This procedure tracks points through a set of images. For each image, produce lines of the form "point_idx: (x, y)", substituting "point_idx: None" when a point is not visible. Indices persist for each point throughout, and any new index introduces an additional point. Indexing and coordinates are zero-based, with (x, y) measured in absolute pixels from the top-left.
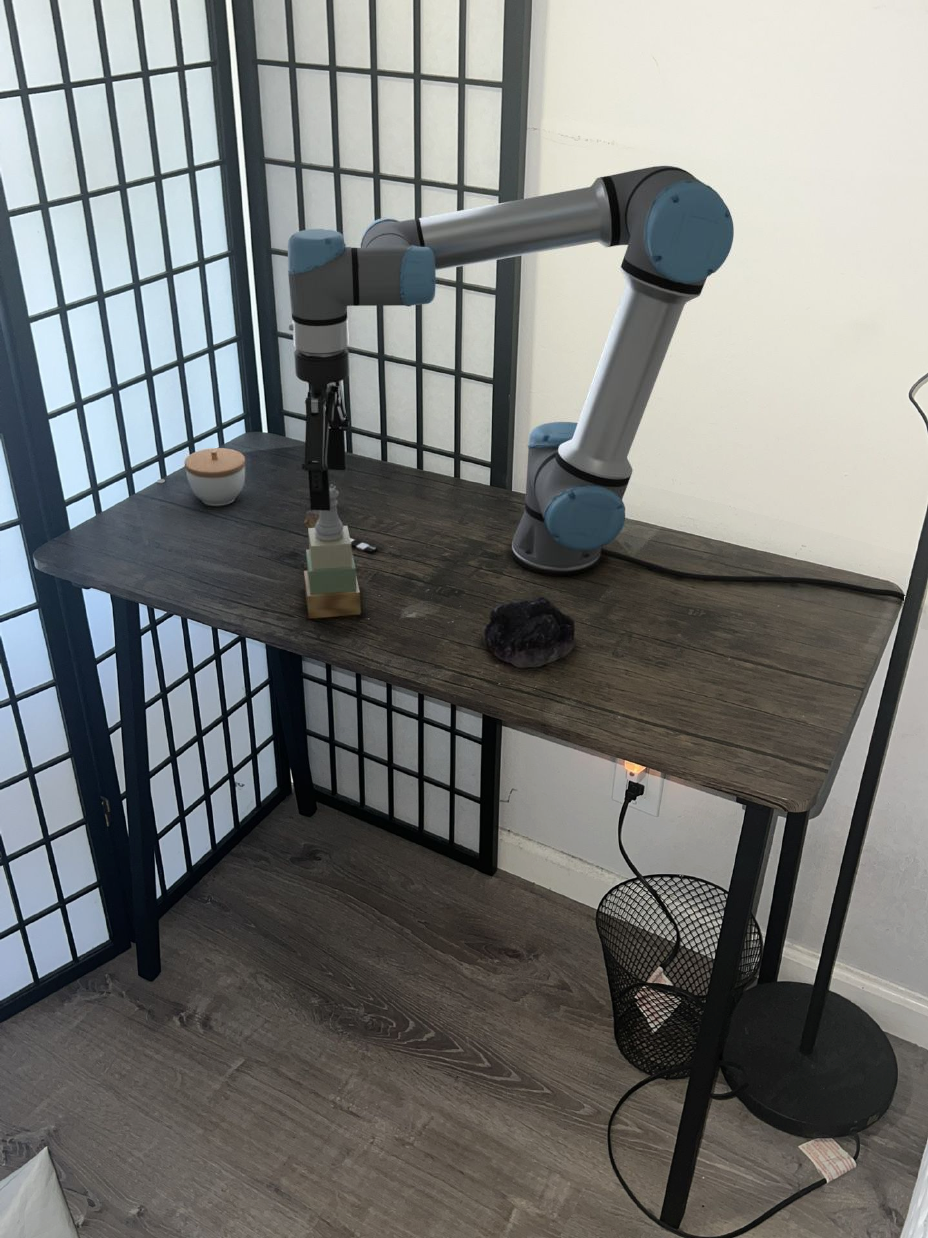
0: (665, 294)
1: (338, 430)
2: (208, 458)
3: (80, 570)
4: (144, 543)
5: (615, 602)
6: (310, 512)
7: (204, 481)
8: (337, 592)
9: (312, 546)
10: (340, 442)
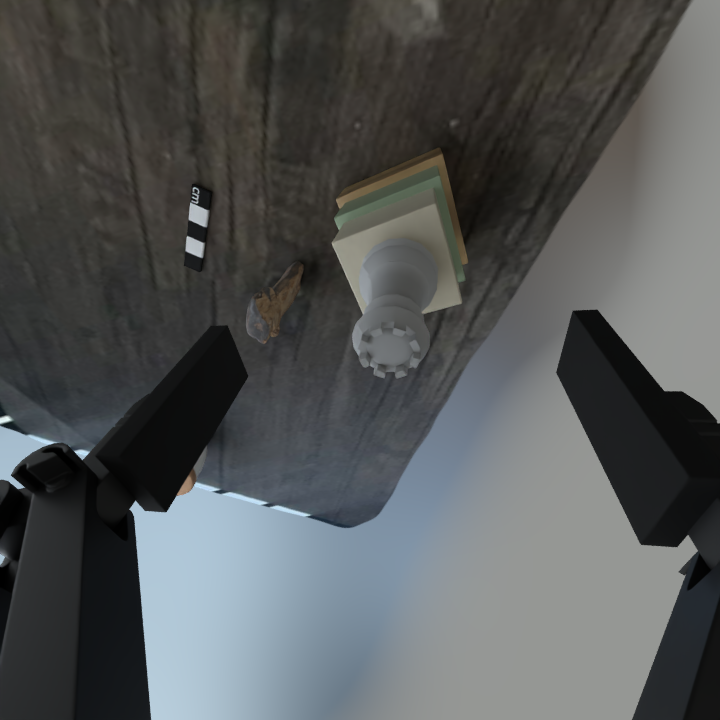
0: None
1: (134, 472)
2: None
3: (383, 497)
4: (313, 466)
5: None
6: (263, 336)
7: (197, 465)
8: (448, 207)
9: (461, 300)
10: (170, 415)
